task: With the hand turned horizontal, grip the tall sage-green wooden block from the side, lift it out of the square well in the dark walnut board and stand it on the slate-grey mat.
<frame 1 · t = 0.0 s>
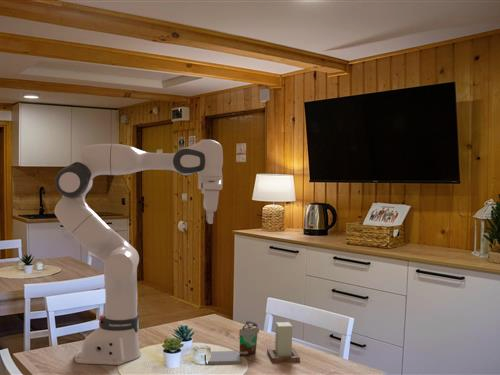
hand: (209, 222, 185), 48 cm above the table, tool pointing down, fingers open, 8 cm apart
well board: (283, 357, 184), on the table
sage block: (283, 340, 184), in the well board
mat: (222, 358, 181), on the table
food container: (250, 352, 189), on the table
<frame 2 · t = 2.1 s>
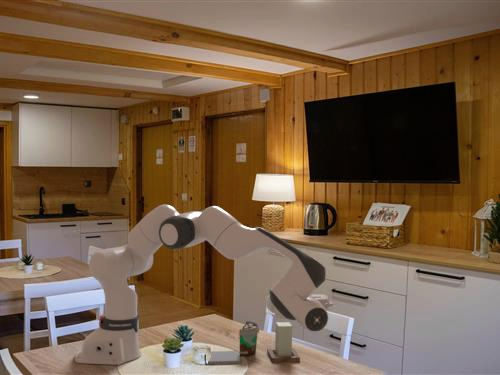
hand: (292, 296, 172), 25 cm above the table, tool horizontal, fingers open, 8 cm apart
nothing on the table moved.
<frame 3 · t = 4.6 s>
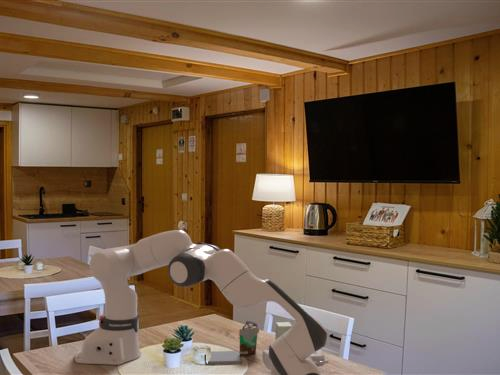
hand: (288, 349, 175), 6 cm above the table, tool horizontal, fingers open, 8 cm apart
nothing on the table moved.
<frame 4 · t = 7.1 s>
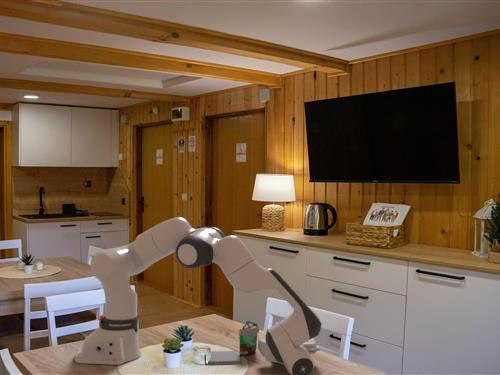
hand: (283, 338, 185), 7 cm above the table, tool horizontal, fingers closed on sage block, 5 cm apart
sage block: (283, 340, 184), in the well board, touching gripper
everything else where it was.
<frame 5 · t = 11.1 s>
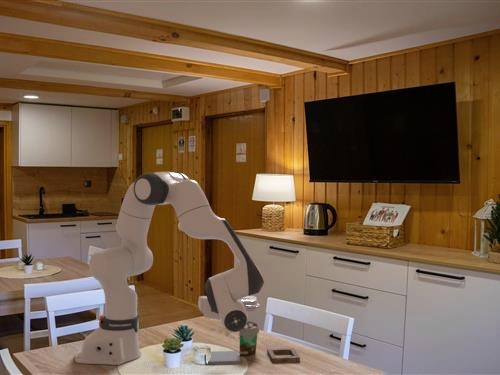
hand: (225, 297, 182), 22 cm above the table, tool horizontal, fingers closed on sage block, 5 cm apart
sage block: (226, 299, 181), point 21 cm above the table, touching gripper
everything else where it was.
when the fingers open (9 cm above the table, at t = 14.6 s): sage block drops 1 cm, resting on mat.
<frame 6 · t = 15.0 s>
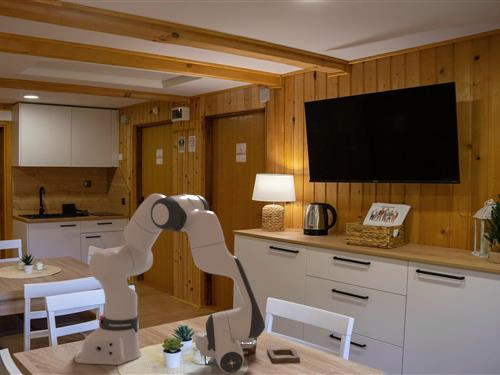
hand: (222, 332, 182), 9 cm above the table, tool horizontal, fingers open, 8 cm apart
sage block: (222, 339, 181), on the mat, point 7 cm above the table
everything else where it was.
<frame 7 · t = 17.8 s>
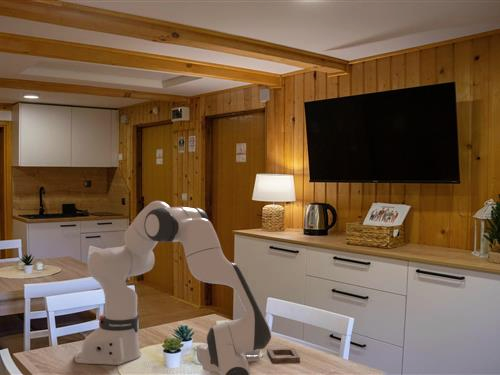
hand: (226, 344, 169), 9 cm above the table, tool horizontal, fingers open, 8 cm apart
nothing on the table moved.
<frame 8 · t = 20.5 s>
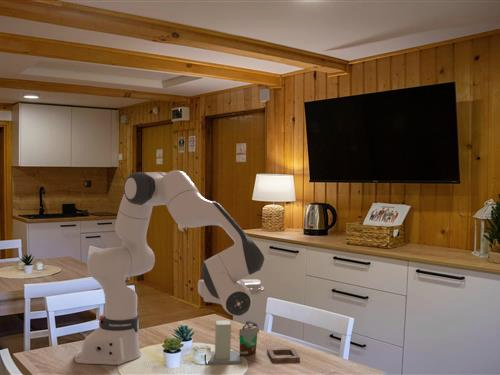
hand: (227, 281, 169), 30 cm above the table, tool horizontal, fingers open, 8 cm apart
nothing on the table moved.
at the end: sage block inside the target area on the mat (0.1 cm from its centre), point 7.0 cm above the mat's base; sage block tilted 0°; the gripper is holding nothing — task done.
